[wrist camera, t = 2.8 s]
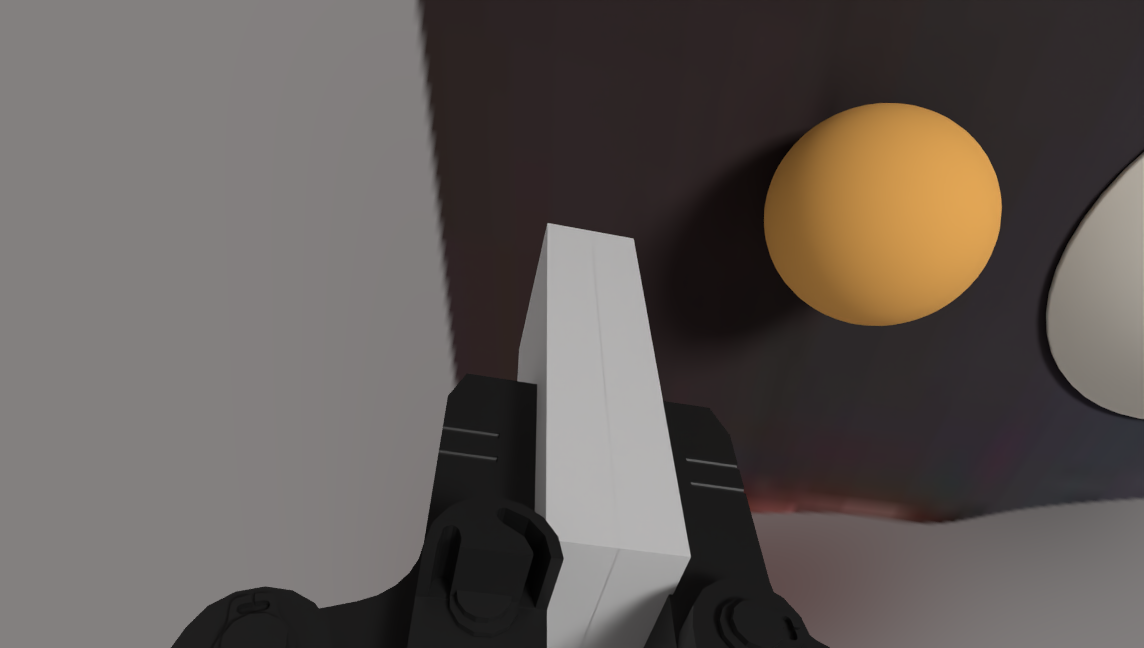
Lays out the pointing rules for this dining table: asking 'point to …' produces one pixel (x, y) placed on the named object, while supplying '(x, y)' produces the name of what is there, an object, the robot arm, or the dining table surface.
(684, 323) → the dining table surface
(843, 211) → the ball
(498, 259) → the dining table surface
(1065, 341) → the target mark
